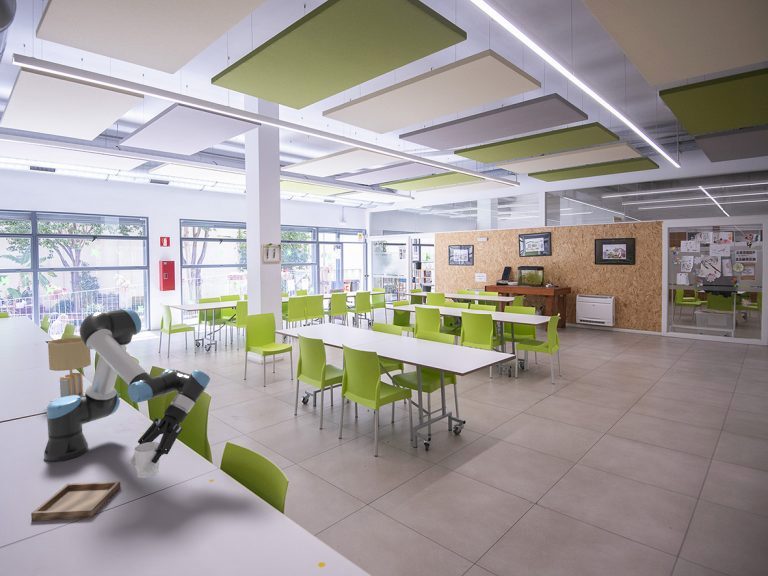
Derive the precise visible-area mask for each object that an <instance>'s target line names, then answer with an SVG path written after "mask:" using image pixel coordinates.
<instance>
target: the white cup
mask: <svg viewBox="0 0 768 576" xmlns="http://www.w3.org/2000/svg"><path fill="white" fill-rule="evenodd" d="M159 444H160V442H156V441H152V442H147V443H143V444H140V445H139V444H138V445H136V446H135V447H134V453H135V463H136V465H135V469H136V477H137V478H139V479H150V478H153V477H155V476H156V475H158V473H159V469H160V467H159V466H160V459H159V460H158V461H157V463H156V464H154V466H153V467H152V469H151V470H150V472H149V473H147V472H146V471H144V470H142V469H143V467H144V466H145V464H146V463H147V461H148V460H149V458H150V457H151V455H152V454H153V453H154V451H155V450H157V449H158V446H159ZM155 452H156V451H155Z"/></svg>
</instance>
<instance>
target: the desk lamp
mask: <svg viewBox="0 0 768 576" xmlns="http://www.w3.org/2000/svg"><path fill="white" fill-rule="evenodd" d="M47 345H48V346H47V349H48V366H49V367H48V368H49V370H50V371H55V372H57V371H58V372H62V371H69V374H66V375H64V376H61V377H59V390H60V391H59V392H60V396H59V397H57V398H54V399H52V400H50V401H49V402H50V403H51V402H53V401H54V400H56V399H59V398H62V397H65V396H70V395H78V396H80V397H82V396H85V393H86V391H85V392H84V383H83V382H84V381H83V372H73V370H79V369H83V368H86V367H89V366H91V364H92V361H91V349H89V348H88V347H87V346H86V345H85V344H84V342H83V341H82V339H81V336H79V337H67V338H58V339H52V340H51V341H50V340H49V341H48V342H47Z"/></svg>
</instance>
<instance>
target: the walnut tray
mask: <svg viewBox="0 0 768 576" xmlns="http://www.w3.org/2000/svg"><path fill="white" fill-rule="evenodd" d="M120 489H121V481H120V480H119V481H98V482H95V481H94V482H80V483H79V482H77V483H76V482H74V483H66V484H65V485H64V486H63V487H61V489H59V490H58V491H57V492H55V493H54V494H53V495H51V497H49V498H48V499H47V500H45V501H44V502H43V503H42V504H41V505H39V506H38V507H37V508H36V509H35V510H34V511H32V512H31V514H30V515H31V518H30V519H31V522H37V521H57V520H58V521H59V520H77V519H92V518H93V517H94V516H96V514H97V513H99V511H100V510H101V509H103V507H105V505H106V504H107V503H108V502H109V501H110V500H111V499H112V498H113V496H115V495H116V493H118V492H119V490H120ZM109 499H110V500H109ZM108 500H109V501H108Z"/></svg>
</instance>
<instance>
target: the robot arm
mask: <svg viewBox="0 0 768 576" xmlns="http://www.w3.org/2000/svg"><path fill="white" fill-rule="evenodd" d="M141 331H142V321H141V318H140V315H139V314H138V312H136V311H135V310H134V309H131V308H124V309H123V308H120V309H116V310H115V309H114V310H107V311H97V312H96V311H95V312H92V313H91V314H88V316H86V317H85V318H84V319H83V321H82V322H81V324H80V327H79V337H81V339H82V341H83V342H84V344H85V345H86V346H87V347H88V348H89V349H90V350H94V351H95V352H96V353H97V355H99V357H98V360H97V363H96V367H95V371H94V374H93V379H92V383H91V385H89V386H88V387H87V388H86V389H85V392H86V393H85V396H82V397H80V396H78V395H70V396H65V397H62V398H59V399H56V398H55V399H56V400H54V399H53V400H54V401H53V402H50V403H49V404H48V406H47V408H46V419H47V420H46V422H47V434H48V435H47V437H48V440H47V442H46V445H45V449H44V451H43V452H44V453H43V457H44V458H43V459H44V460H45V461H47V462H60V461H61V462H62V461H67V460H70V459H71V460H72V459H74V458H77V457H80V456H82V455H84V454H85V453H87V451H88V450H89V443H88V441H87V438H86V437H85V435H84V433H83V425H85V424H87V423H90V422H94V421H97V420H100V419H103V418H106V417H109V416H111V415H113V414H115V413H116V412H117V411H118V410H119V407H120V402H121V401H120V394H119V393H118V391H117V389H116V388H115V384H116V381H117V378H118V377H120V379H121V380H122V382H124V383H125V384H126V385H127V386H128V387H127V395H128V398H129V400H130V401H131V402H133V403H136V404H137V403H139V404H140V403H143V402H147V401H149V400H150V401H151V400H152V399H155V398H157V397H161V396H164V395H168V394H170V393H173V392H177V394H176V395H175V396H174V397H173V399H172V400H171V402H170V404H169V405H168V407H167V408H166V409H165V411H164V412H163V414H164V416H163V417H162V418H161V419H160V418H157V417H156V418H154V420H153V422H152V424H150V426H149V427H148V429H146V430H145V432H144V433H143V434H142V435H141V437H140V438H139V439H138V440H137V443H138V445H140V444H143V443H147V442H155V440H156V439H157V438H158V437H159V436H160V435H162V436H161V438H160V441H159V446H158V449H157V450H155V451H156V452H155V451H154V453H153V454H152V455H151V457H150V458H149V460H148V461H147V463H146V464H145V466H144V467H143V469H142V470H144V471H146V472H147V473H149V472H150V470H151V469H152V467H153V466H154V464H156V463H157V461H158V460H159V461H160V458H161V457H162V456H163V455H168V454H169V452H170V451H171V449H172V447H173V445H174V443H175V441H176V439H177V438H178V436H179V434H180V433H181V432H182V431H183V427H182V426H180V425H179V424H182V423H183V422H184V420H185V419H186V418H187V416H188V414H189V413H190V412H191V410H192V408H193V407H194V406H195V404H196V402H197V401H198V399H199V398H200V397H201V396H202V394H203V393H204V391H205V389H206V388H207V387H208V385H209V384H210V381H211V377H210V376H209V375H208V374H207V373H205V372H203V371H202V370H199V369H194V370H193V371H192V372H191V373H190V374H189V373H186V372H182V371H181V370H178V369H172V368H167V369H165V370H164V371H162V372H161V373H160V375H157V376H153V377H152V376H151V375H150V374H149V373H148V372H147V371H146V370H145V369H144V368H143V367H142V366H141V365H140V364H139V363H138V362H137V361H136V360H135V359H134V358H133V357H132V356H131V355H130V354H129V352H127V350H126V346H127V345H130V343H131V342H132V340H133V339H132V338H133V336H135V335H138V334H140V332H141ZM127 464H128V465H130V466H132V467H135V468H136V463H135V452H133V455H132V457H131V458H130V459H129V461H128V462H127Z"/></svg>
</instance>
